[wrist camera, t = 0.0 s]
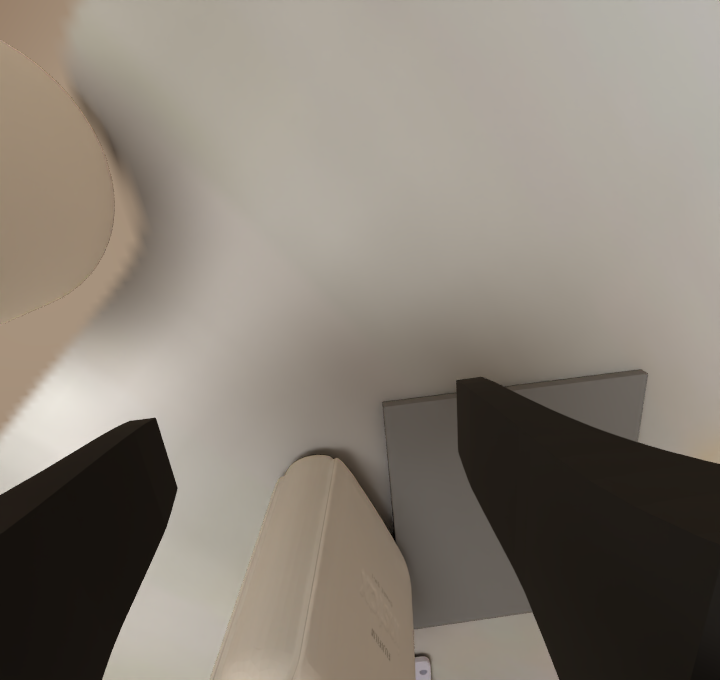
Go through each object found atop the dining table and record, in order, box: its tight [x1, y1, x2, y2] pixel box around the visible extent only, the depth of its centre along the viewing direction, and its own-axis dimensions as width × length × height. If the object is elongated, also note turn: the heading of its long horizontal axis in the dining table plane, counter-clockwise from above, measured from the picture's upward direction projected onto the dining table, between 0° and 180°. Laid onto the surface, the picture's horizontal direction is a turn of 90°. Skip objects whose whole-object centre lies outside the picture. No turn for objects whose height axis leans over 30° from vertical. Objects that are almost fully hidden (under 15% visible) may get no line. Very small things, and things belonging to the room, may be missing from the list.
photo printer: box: [210, 455, 416, 680], centre depth 18 cm, size 10×4×12 cm, turn 26°
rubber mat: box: [383, 370, 648, 630], centre depth 24 cm, size 16×14×1 cm
